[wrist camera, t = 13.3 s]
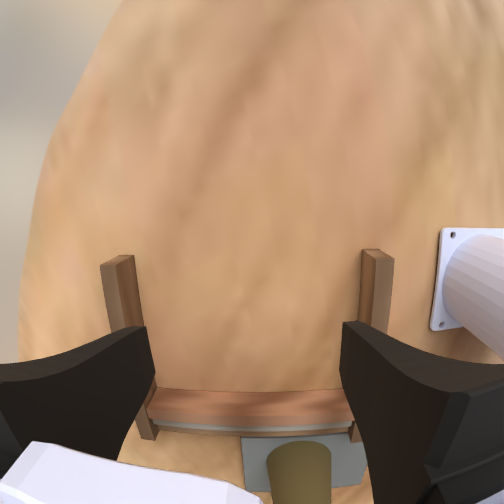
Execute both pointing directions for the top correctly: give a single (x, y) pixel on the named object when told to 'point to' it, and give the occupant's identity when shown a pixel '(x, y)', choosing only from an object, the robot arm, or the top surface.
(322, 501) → the olive brown pear shape
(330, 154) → the top surface
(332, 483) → the slate tile
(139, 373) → the robot arm
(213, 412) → the offcut rack
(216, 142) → the top surface
